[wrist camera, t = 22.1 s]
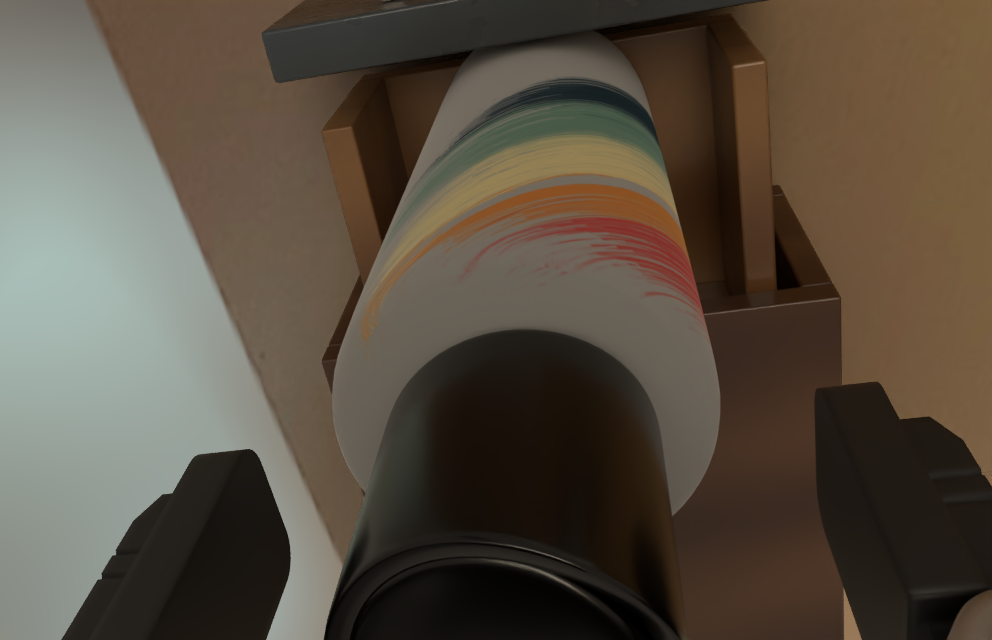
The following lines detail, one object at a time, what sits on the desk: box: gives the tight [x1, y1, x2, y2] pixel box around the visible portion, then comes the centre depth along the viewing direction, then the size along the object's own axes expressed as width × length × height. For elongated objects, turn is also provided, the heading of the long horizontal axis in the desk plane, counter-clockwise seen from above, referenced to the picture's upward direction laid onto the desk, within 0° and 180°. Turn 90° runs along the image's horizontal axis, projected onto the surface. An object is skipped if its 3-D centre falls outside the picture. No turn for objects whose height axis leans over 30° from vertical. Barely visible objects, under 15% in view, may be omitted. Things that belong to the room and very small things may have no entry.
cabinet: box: [322, 185, 844, 640], centre depth 30 cm, size 12×13×8 cm
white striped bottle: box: [324, 30, 720, 640], centre depth 18 cm, size 6×6×20 cm
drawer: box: [262, 0, 777, 300], centre depth 24 cm, size 17×12×6 cm
